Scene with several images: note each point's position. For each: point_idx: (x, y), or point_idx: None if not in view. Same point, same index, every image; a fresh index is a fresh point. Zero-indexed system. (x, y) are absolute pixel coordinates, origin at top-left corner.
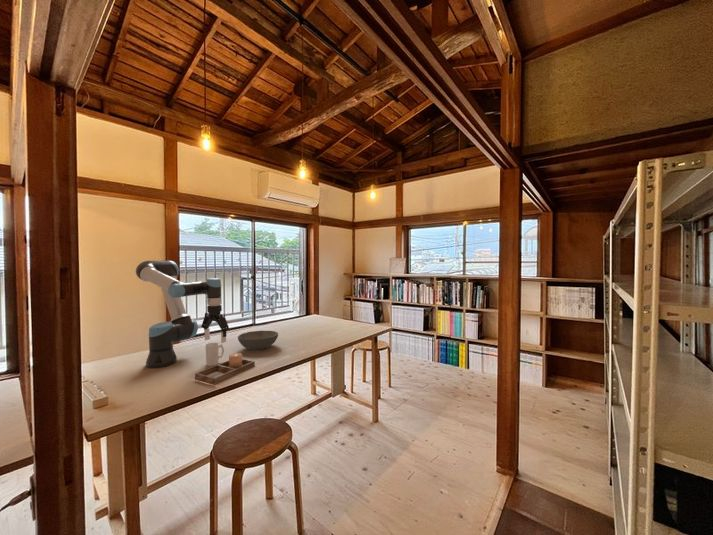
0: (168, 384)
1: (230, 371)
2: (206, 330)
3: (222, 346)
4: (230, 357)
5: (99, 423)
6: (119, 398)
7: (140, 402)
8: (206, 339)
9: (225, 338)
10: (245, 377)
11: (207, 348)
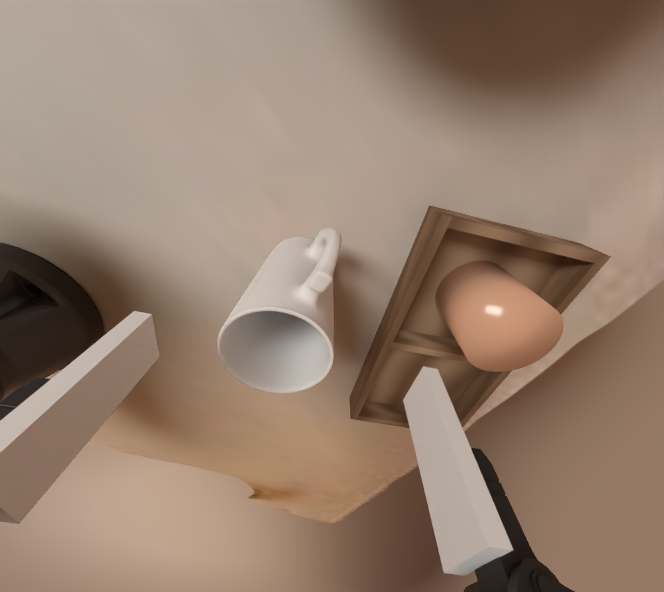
0: (292, 428)
1: (492, 387)
2: (38, 482)
3: (335, 265)
4: (485, 369)
5: (316, 514)
6: (250, 477)
7: (315, 481)
8: (152, 354)
9: (449, 411)
10: (547, 358)
11: (279, 375)
